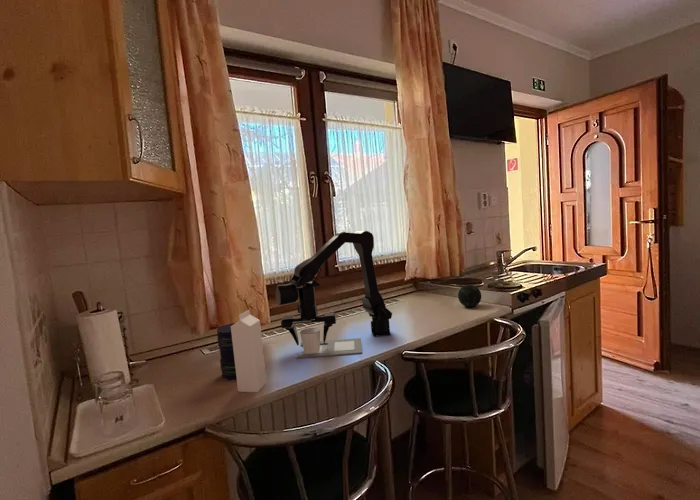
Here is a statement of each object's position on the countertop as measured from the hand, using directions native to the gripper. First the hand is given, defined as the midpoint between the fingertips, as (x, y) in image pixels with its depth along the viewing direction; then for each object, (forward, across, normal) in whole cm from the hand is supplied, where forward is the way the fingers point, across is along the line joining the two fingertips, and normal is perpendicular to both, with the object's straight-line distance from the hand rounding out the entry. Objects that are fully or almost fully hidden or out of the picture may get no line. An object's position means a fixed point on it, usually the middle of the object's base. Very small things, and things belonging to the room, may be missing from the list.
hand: (311, 343), depth 145 cm
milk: (+2, +14, +28) cm, 31 cm away
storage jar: (+2, +22, +16) cm, 27 cm away
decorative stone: (+2, -68, -40) cm, 79 cm away
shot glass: (+2, 0, 0) cm, 2 cm away
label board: (+2, -6, 0) cm, 7 cm away
